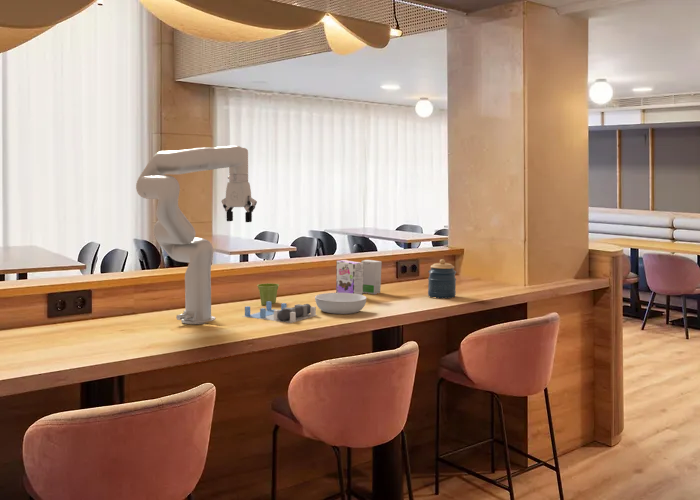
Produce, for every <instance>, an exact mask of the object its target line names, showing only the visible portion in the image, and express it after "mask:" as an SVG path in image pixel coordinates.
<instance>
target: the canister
mask: <svg viewBox="0 0 700 500" xmlns="http://www.w3.org/2000/svg"><path fill="white" fill-rule="evenodd" d="M456 273H457V271H456V270H455V266H454V265H453V264H452V263H448V262H446V260H445V259H444V258H442V259H439V262H436V263H433V264H431V265H430V269H429V270H428V274H429V276H428V277H427V279H428V281H427V282H428V287H427V295H428V297H429V296H430V297H429V298H432V297H436V298H435V299H443V298H445V299H453V298H452V297H454V298H455V297H456V294H457V292H456V290H457V289H456V286H457V284H456V283H457V282H456V281H457V277H456Z"/></svg>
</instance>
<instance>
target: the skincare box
mask: <svg viewBox="0 0 700 500" xmlns="http://www.w3.org/2000/svg"><path fill="white" fill-rule="evenodd" d="M360 263H363V294H367V293H368V294H370V295H377V293H378V294H380V293H381V287H382V263H383V262H382V261H381V260H373V259H364V260H361V262H360Z"/></svg>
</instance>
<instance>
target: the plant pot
mask: <svg viewBox="0 0 700 500" xmlns="http://www.w3.org/2000/svg"><path fill="white" fill-rule="evenodd" d="M256 287H257V289H258V291H259V298H260V304H261V306H266V302H267V301H271V305H275V304H276V303H277V297H278V296H277V295H278V289H279V287H280V284H278V283H270V282H269V283H260V284H259V283H258V284H257V285H256Z"/></svg>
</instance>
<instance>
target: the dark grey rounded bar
mask: <svg viewBox="0 0 700 500" xmlns="http://www.w3.org/2000/svg"><path fill="white" fill-rule="evenodd" d="M310 307H312V305H311V304H309V303H305V304H294V306H293V307H286V308H283V310H281V309H280V310H281V311H279V312H278V319H279V320H280V321H285V320H290V312H296V317H299V316H300V317H306V316H307V314H310ZM280 321H279V322H280Z"/></svg>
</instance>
